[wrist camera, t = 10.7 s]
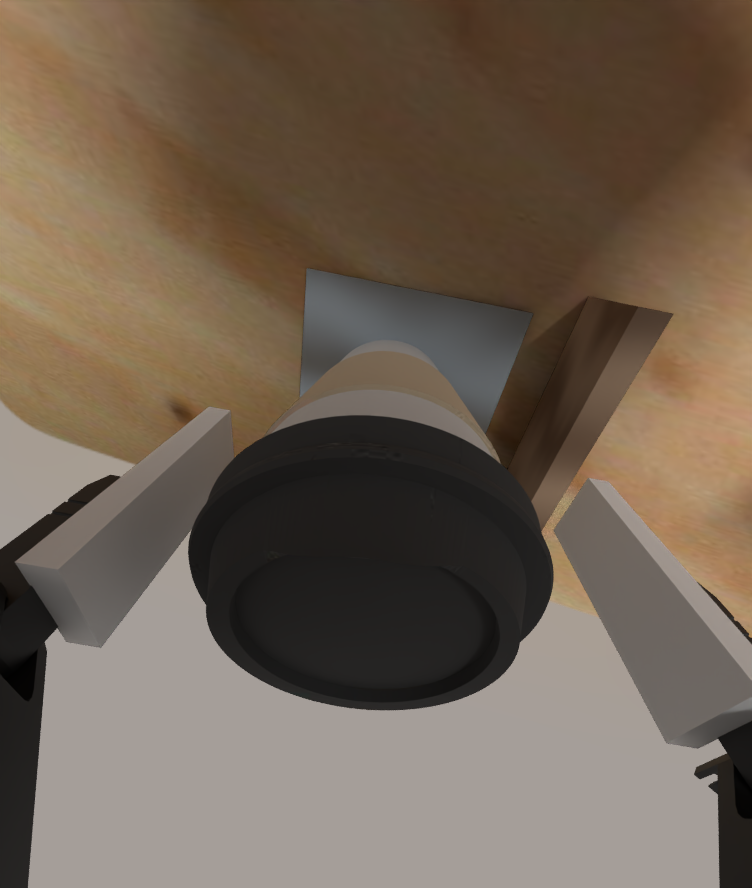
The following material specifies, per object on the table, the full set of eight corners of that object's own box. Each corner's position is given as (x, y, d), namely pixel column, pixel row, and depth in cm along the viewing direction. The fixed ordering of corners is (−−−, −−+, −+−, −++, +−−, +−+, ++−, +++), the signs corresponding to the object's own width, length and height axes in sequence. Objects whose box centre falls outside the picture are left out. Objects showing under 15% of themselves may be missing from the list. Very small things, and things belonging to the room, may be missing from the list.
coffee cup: (449, 462, 22) (520, 765, 9) (317, 453, 22) (198, 731, 9) (475, 322, 17) (702, 517, 4) (308, 313, 18) (45, 469, 5)
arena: (295, 237, 16) (266, 231, 13) (616, 302, 17) (673, 313, 13) (286, 473, 23) (266, 510, 20) (508, 512, 24) (526, 555, 21)
